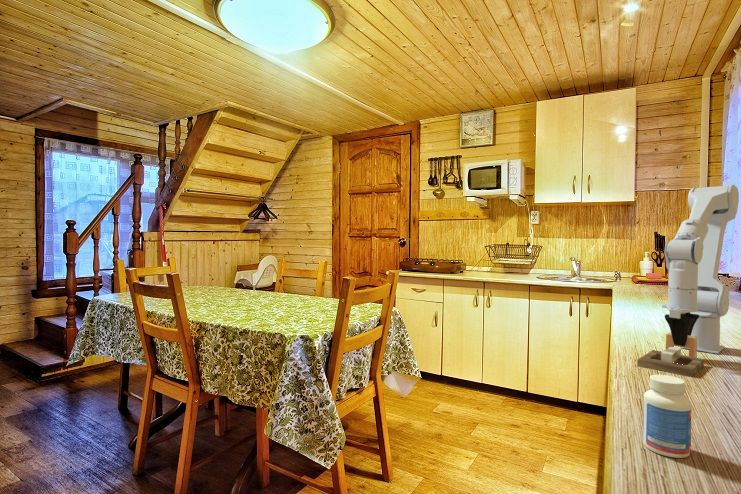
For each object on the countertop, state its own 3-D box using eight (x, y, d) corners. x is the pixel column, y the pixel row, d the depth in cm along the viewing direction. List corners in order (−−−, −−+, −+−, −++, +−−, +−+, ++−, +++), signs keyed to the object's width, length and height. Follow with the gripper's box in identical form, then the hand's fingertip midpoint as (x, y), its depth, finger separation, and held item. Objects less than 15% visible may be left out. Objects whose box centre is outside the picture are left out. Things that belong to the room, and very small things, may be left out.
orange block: (668, 354, 104) (669, 332, 104) (696, 359, 100) (697, 336, 100) (665, 356, 103) (666, 334, 102) (693, 361, 98) (694, 338, 98)
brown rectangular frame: (652, 356, 103) (653, 342, 103) (703, 365, 95) (704, 350, 95) (637, 365, 95) (637, 350, 95) (691, 376, 87) (692, 360, 87)
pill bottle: (699, 461, 54) (701, 387, 54) (653, 457, 55) (655, 384, 55) (677, 441, 60) (679, 374, 59) (636, 437, 61) (637, 371, 60)
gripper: (670, 284, 109) (669, 336, 109) (654, 289, 99) (653, 345, 99) (704, 287, 104) (703, 341, 104) (691, 292, 94) (689, 351, 94)
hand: (681, 343), depth 101 cm, fingers closed on orange block, 3 cm apart
